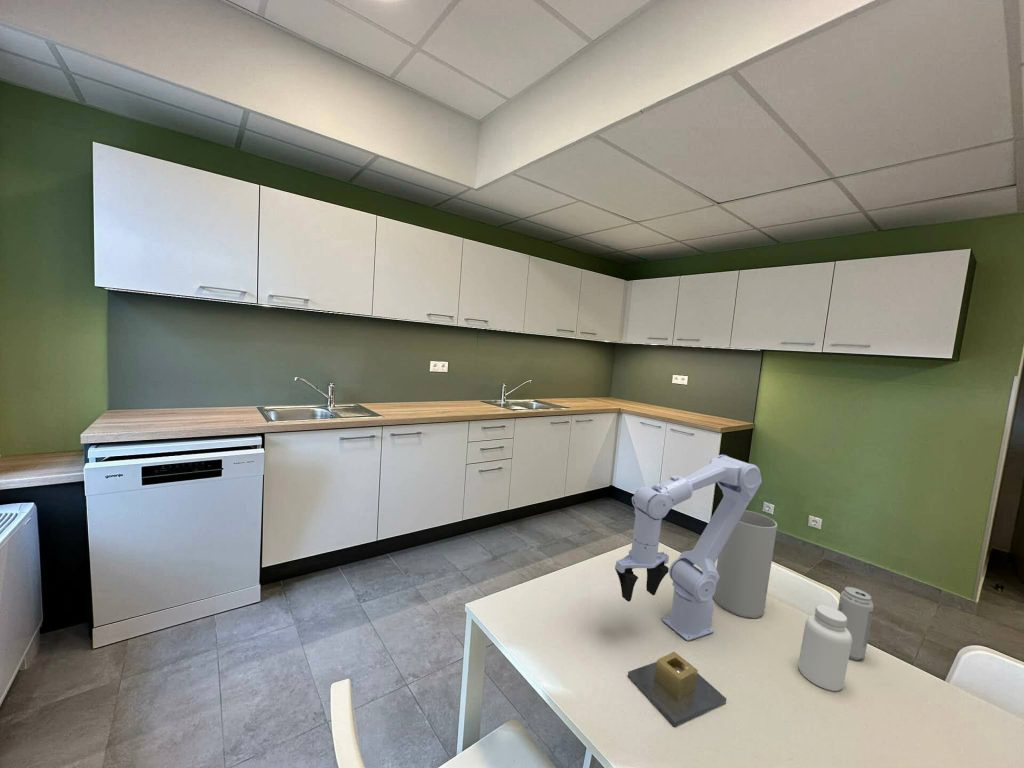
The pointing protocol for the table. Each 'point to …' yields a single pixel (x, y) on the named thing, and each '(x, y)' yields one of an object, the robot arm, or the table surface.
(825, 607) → the pill bottle
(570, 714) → the table surface
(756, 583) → the cylinder vase
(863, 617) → the energy drink can
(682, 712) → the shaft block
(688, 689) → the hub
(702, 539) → the robot arm
